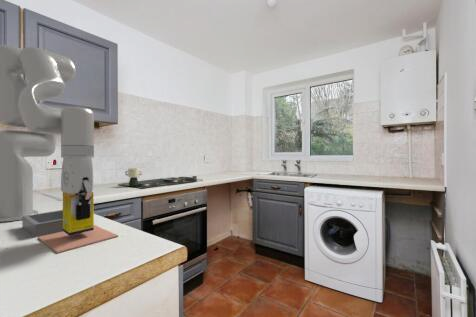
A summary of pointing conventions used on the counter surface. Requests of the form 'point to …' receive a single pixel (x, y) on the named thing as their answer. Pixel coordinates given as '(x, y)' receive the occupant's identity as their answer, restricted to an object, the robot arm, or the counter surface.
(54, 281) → the counter surface
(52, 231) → the tray
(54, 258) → the counter surface
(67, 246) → the mat
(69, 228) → the supplement box
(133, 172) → the character mug
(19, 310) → the counter surface
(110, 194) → the counter surface
